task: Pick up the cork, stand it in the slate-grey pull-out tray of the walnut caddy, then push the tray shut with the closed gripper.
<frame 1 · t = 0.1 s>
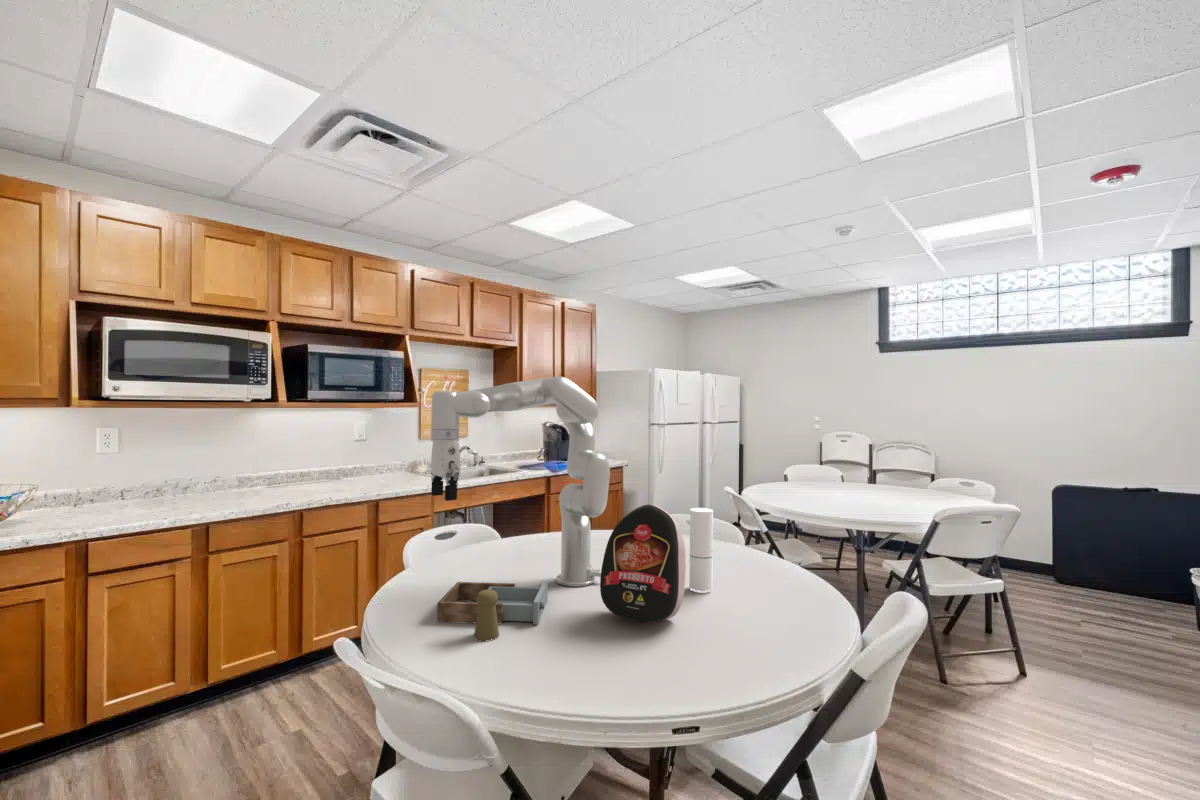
hand: (443, 497, 148), 31 cm above the table, tool pointing down, fingers open, 9 cm apart
cylindrical container: (700, 590, 168), on the table
caddy: (479, 610, 148), on the table
cork: (486, 636, 131), on the table
tray: (515, 600, 147), point 3 cm above the table, slide at 8.0 cm
packaged food: (643, 618, 145), on the table
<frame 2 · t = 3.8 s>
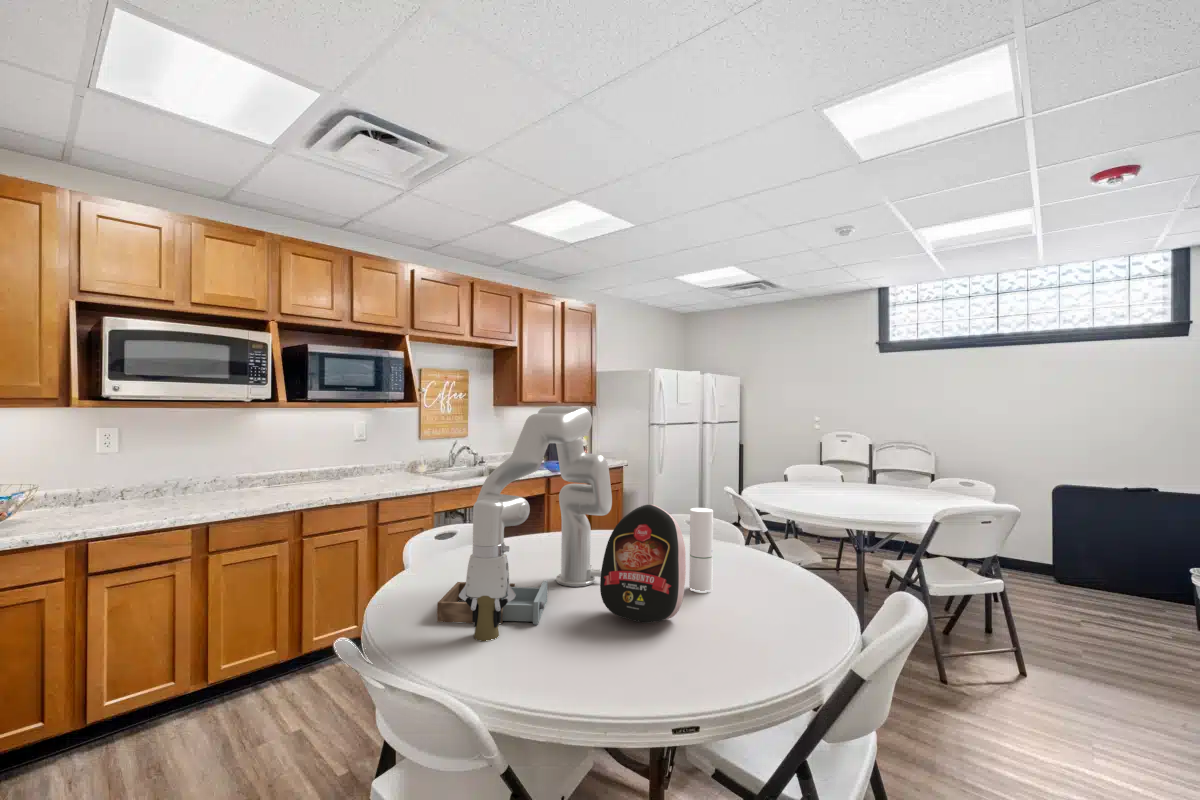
hand: (486, 624, 131), 3 cm above the table, tool pointing down, fingers closed on cork, 4 cm apart
cork: (486, 636, 131), on the table, touching gripper
everything else where it was.
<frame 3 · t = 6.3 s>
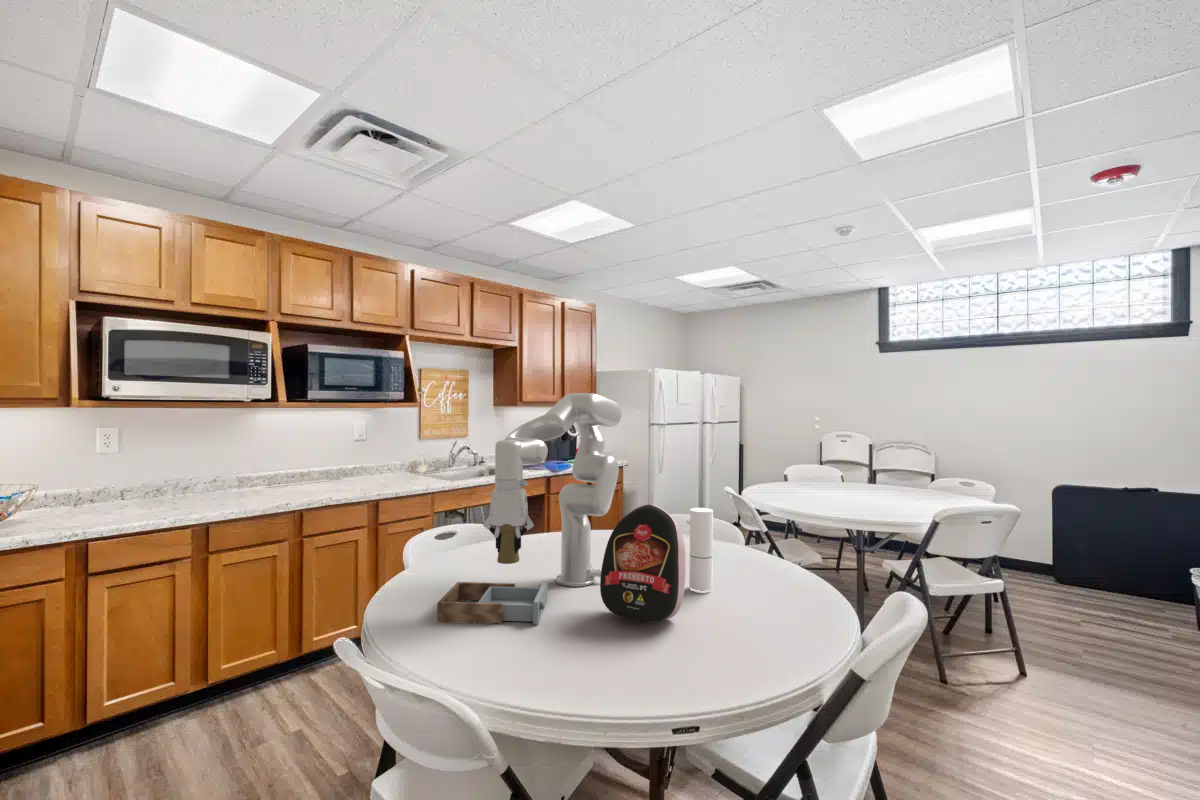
hand: (508, 550, 148), 17 cm above the table, tool pointing down, fingers closed on cork, 4 cm apart
cork: (508, 561, 148), point 14 cm above the table, touching gripper
everything else where it was.
when the fingers open (5 cm above the table, at t = 9.0 s): cork drops 1 cm, resting on tray.
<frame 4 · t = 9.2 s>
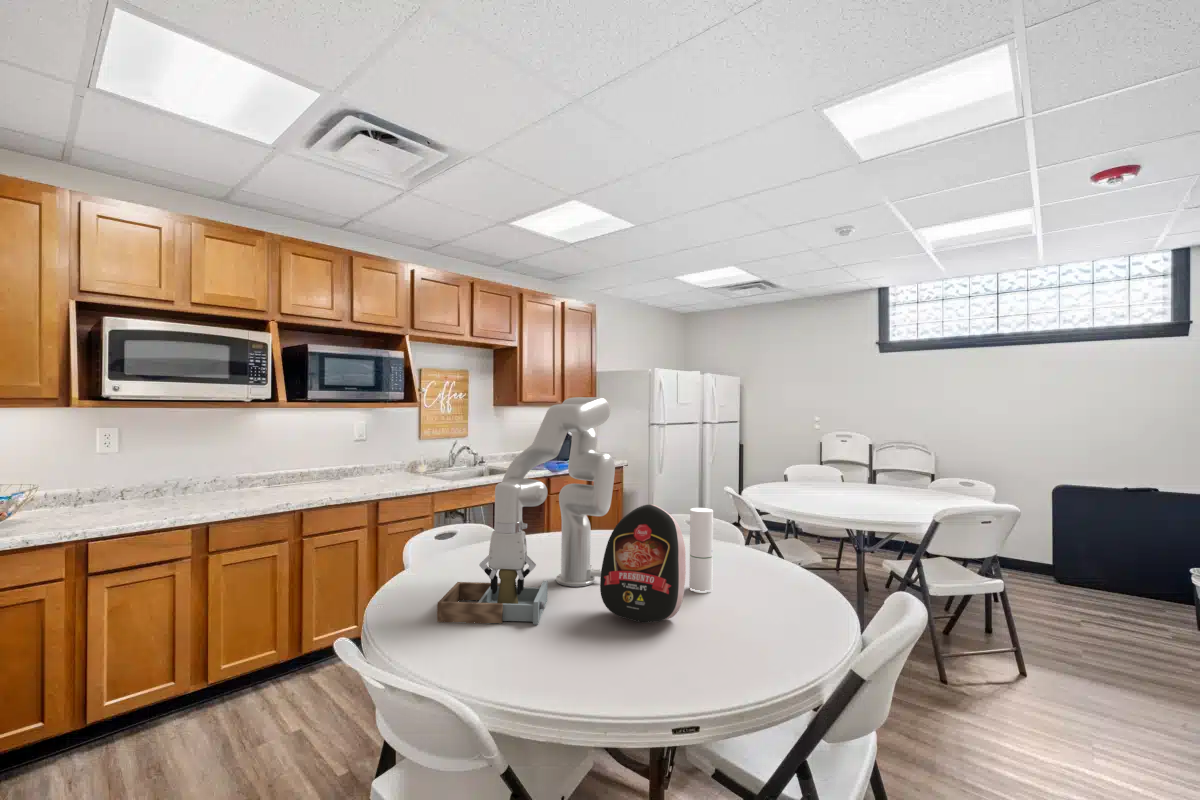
hand: (507, 592, 147), 5 cm above the table, tool pointing down, fingers open, 6 cm apart
cork: (507, 608, 148), point 1 cm above the table, touching tray
tray: (515, 600, 147), point 3 cm above the table, slide at 8.0 cm, touching cork
everything else where it was.
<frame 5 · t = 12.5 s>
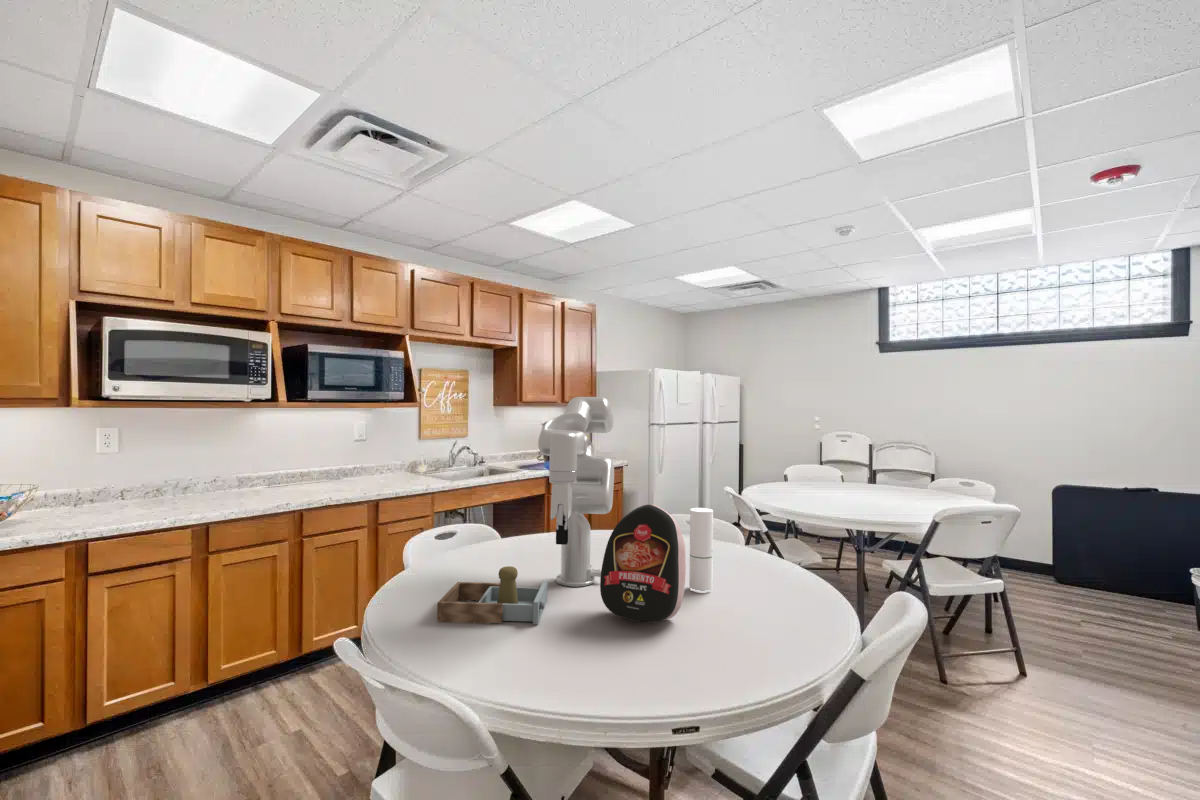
hand: (561, 543, 147), 19 cm above the table, tool pointing down, fingers closed
nothing on the table moved.
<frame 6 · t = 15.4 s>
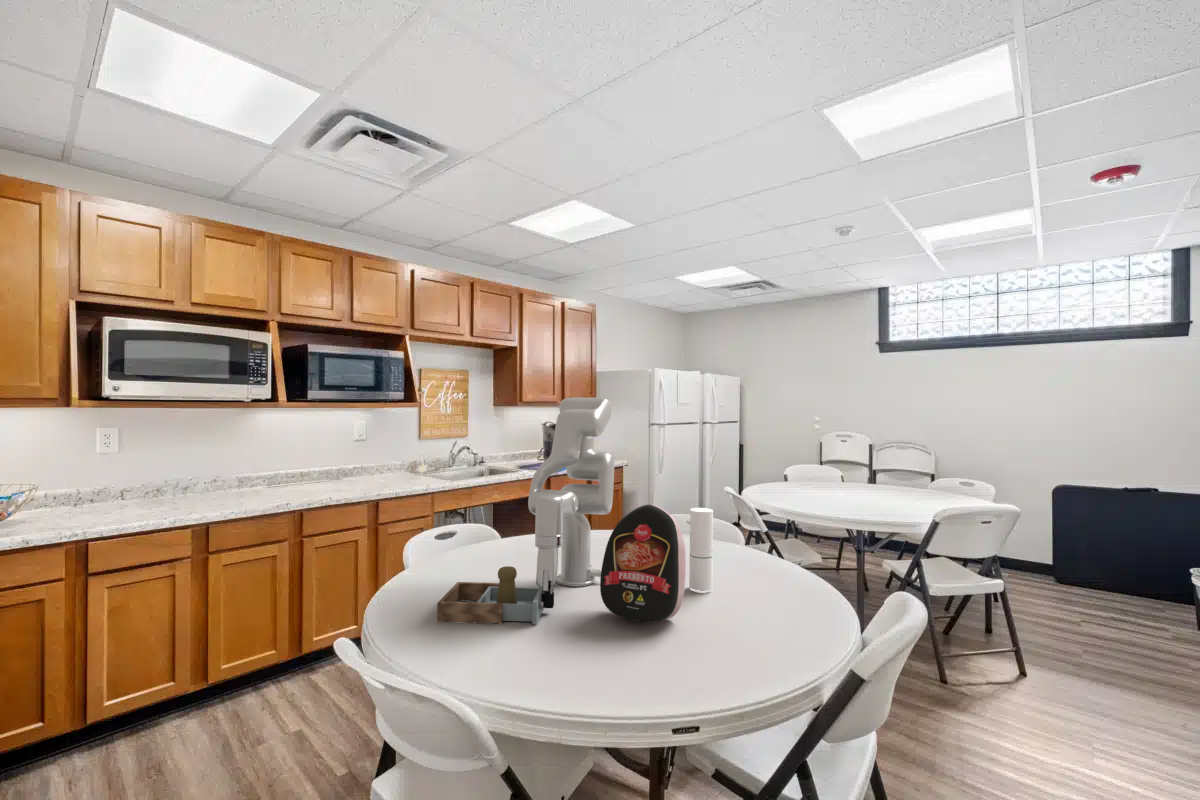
hand: (547, 607, 147), 2 cm above the table, tool pointing down, fingers closed
tray: (514, 600, 147), point 3 cm above the table, slide at 7.8 cm, touching gripper, cork
everything else where it was.
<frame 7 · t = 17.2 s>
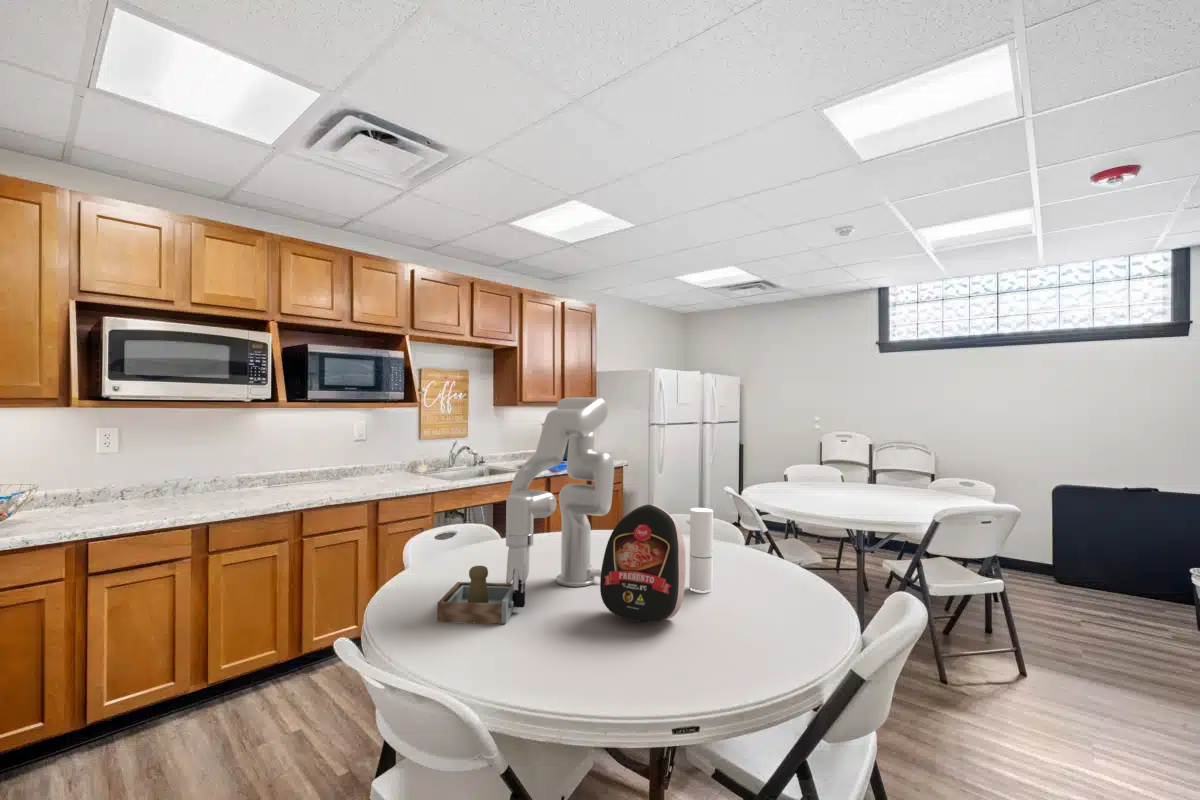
hand: (518, 606, 147), 2 cm above the table, tool pointing down, fingers closed
cork: (477, 607, 148), point 1 cm above the table, touching tray
tray: (485, 599, 148), point 3 cm above the table, slide at -0.3 cm, touching gripper, cork
everything else where it was.
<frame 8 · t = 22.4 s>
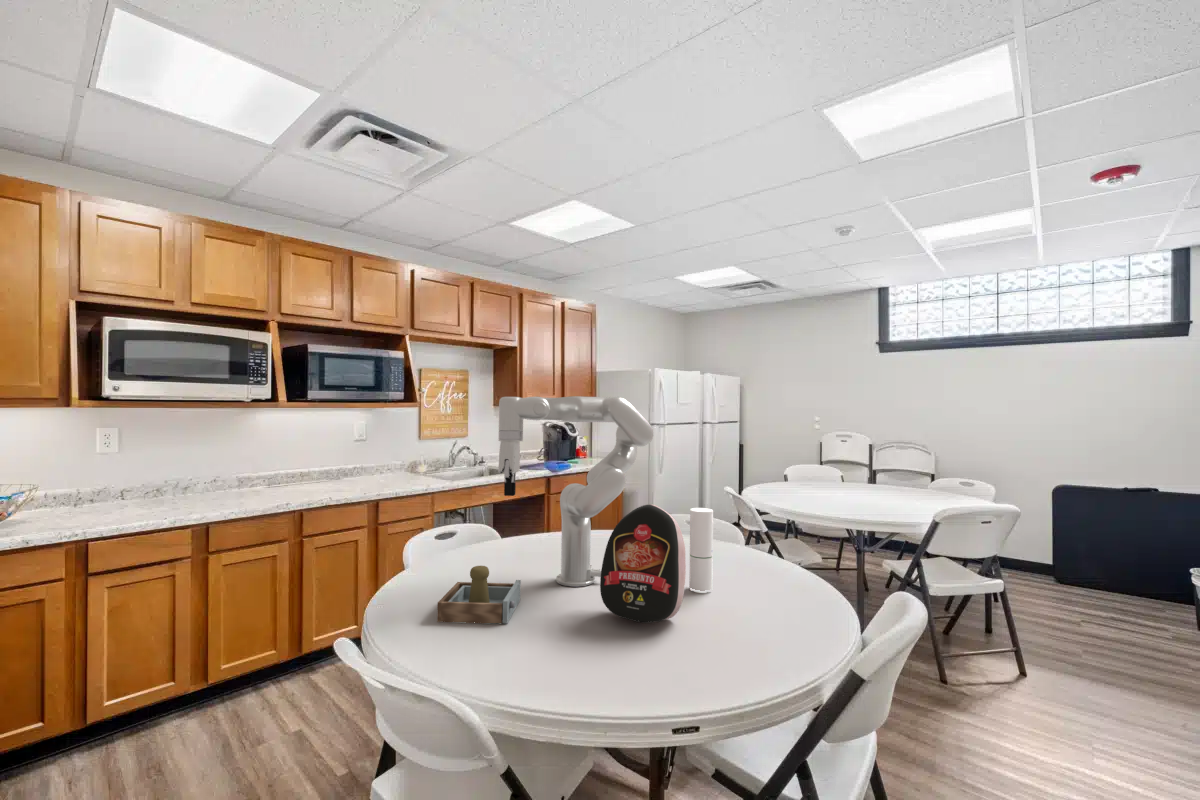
hand: (509, 495, 166), 29 cm above the table, tool pointing down, fingers closed
tray: (486, 599, 148), point 3 cm above the table, slide at 0.0 cm, touching cork
everything else where it was.
at the end: tray slide at 0.0 cm; cork inside the target area on the caddy (0.3 cm from its centre), point 0.9 cm above the caddy's base; cork tilted 0° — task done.
